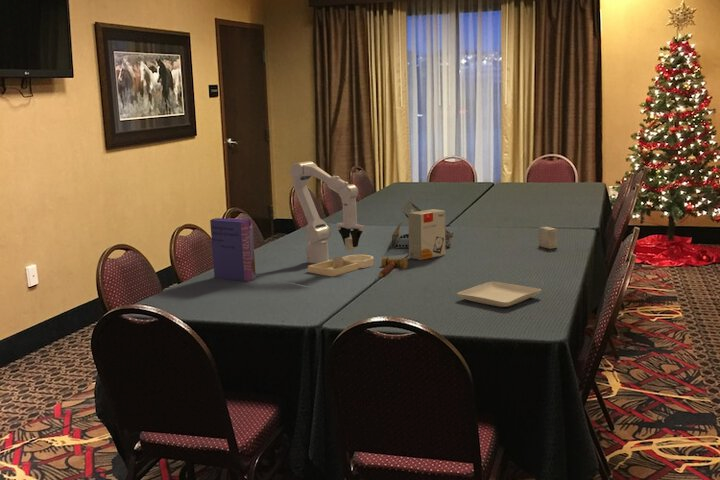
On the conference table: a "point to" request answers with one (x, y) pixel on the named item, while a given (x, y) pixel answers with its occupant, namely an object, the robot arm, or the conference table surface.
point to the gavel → (392, 265)
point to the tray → (328, 270)
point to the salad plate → (498, 294)
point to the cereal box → (233, 249)
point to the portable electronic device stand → (397, 232)
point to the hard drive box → (426, 234)
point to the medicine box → (548, 237)
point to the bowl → (360, 260)
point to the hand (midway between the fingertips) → (351, 246)
